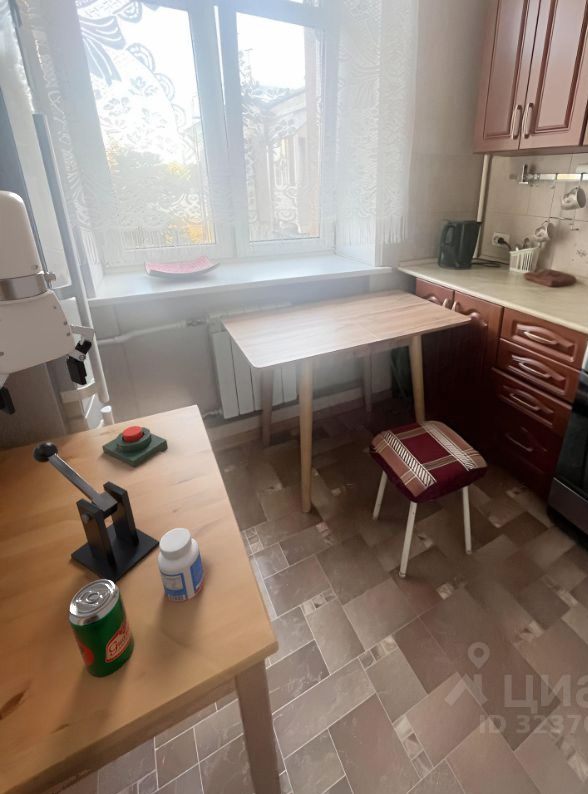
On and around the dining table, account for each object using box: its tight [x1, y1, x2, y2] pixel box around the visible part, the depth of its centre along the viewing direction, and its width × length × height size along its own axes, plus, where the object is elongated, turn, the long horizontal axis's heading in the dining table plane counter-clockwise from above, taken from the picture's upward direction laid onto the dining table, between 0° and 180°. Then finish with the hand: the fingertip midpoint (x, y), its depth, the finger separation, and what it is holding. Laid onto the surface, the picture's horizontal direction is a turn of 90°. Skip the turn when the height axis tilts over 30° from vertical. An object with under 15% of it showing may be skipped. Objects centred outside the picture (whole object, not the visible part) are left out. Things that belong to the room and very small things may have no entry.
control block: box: [101, 426, 169, 468], centre depth 85 cm, size 10×8×4 cm
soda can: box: [67, 578, 135, 679], centre depth 47 cm, size 5×5×12 cm
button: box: [122, 425, 143, 442], centre depth 84 cm, size 4×4×2 cm
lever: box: [32, 441, 118, 521], centre depth 61 cm, size 17×3×3 cm, turn 64°
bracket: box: [70, 480, 160, 584], centre depth 61 cm, size 10×8×12 cm
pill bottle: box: [157, 527, 205, 603], centre depth 56 cm, size 6×5×10 cm
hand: (46, 396), depth 60 cm, fingers open, 9 cm apart
